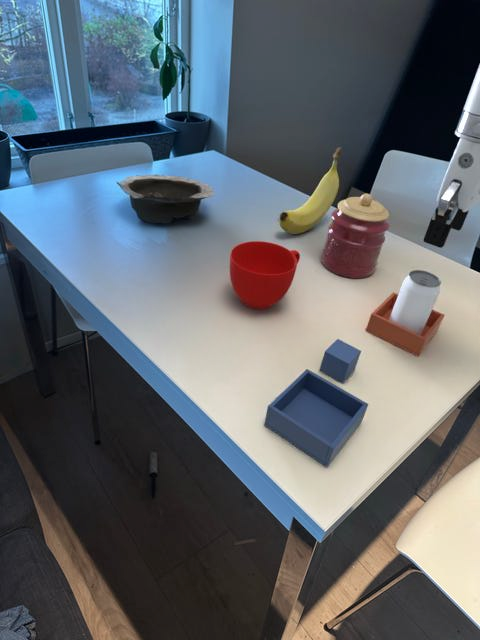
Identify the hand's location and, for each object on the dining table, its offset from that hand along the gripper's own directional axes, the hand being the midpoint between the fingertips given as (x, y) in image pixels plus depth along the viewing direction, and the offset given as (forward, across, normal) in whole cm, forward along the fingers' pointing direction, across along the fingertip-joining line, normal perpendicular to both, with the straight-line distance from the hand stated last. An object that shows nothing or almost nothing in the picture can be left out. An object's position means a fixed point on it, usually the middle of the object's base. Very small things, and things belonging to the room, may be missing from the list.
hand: (442, 235), depth 75 cm
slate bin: (+21, -32, +2) cm, 38 cm away
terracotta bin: (+21, 0, +1) cm, 21 cm away
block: (+21, -19, +5) cm, 29 cm away
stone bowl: (+20, +4, +70) cm, 73 cm away
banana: (+20, +25, +39) cm, 50 cm away
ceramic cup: (+21, -10, +27) cm, 35 cm away
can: (+20, 0, 0) cm, 20 cm away
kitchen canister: (+21, +16, +21) cm, 33 cm away
